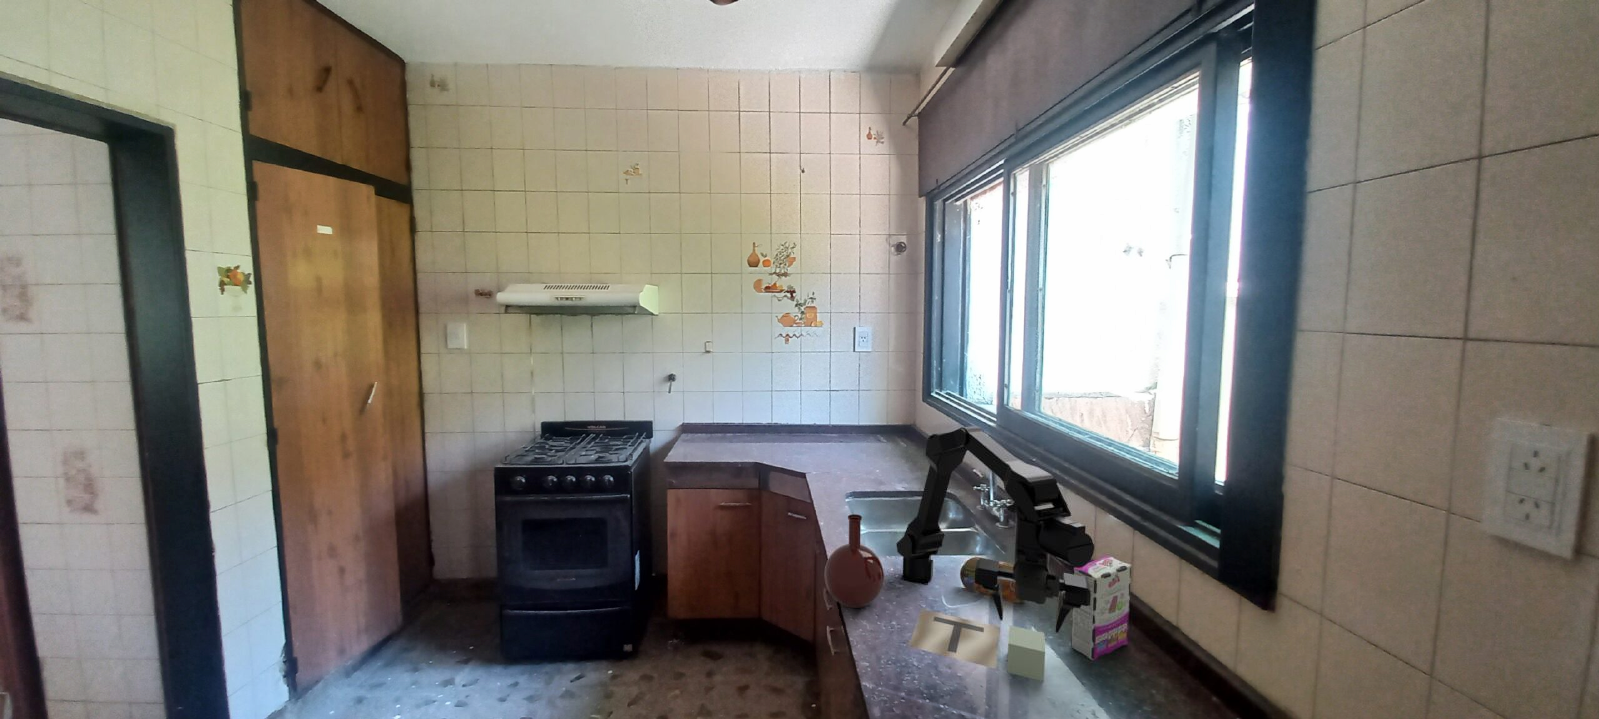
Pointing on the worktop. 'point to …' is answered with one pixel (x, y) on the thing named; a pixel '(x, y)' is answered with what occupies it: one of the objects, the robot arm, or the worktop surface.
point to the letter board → (956, 638)
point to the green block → (1026, 653)
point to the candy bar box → (1103, 608)
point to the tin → (969, 583)
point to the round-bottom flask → (854, 570)
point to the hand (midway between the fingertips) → (1028, 625)
